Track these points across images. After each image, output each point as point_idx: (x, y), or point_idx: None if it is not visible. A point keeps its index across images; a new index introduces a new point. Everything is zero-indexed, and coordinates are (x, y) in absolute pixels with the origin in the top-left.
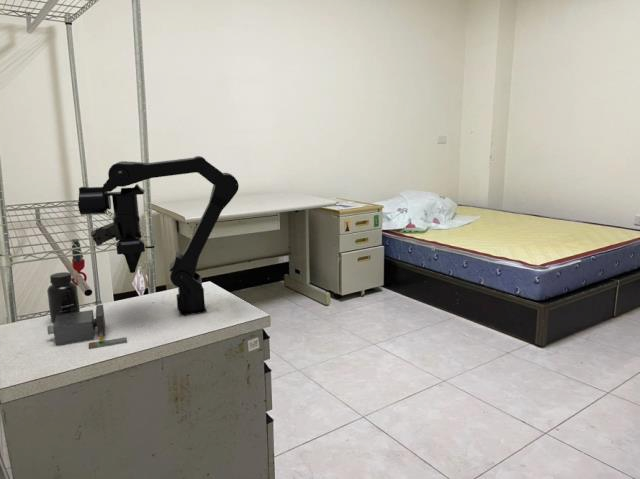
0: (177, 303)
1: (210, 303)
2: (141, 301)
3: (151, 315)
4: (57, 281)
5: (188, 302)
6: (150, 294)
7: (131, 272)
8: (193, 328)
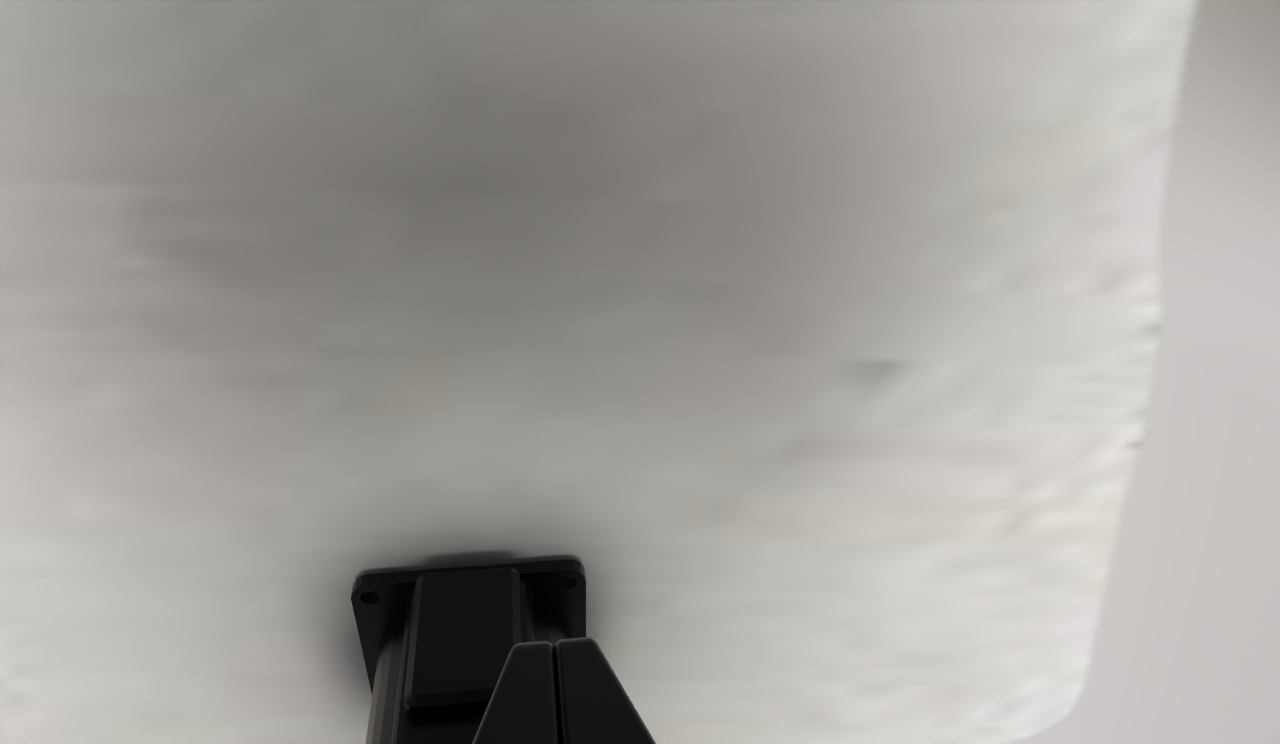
0: (470, 621)
1: None
2: (992, 263)
3: (491, 344)
4: None
5: (372, 718)
6: (1142, 351)
7: (507, 667)
8: (23, 633)
